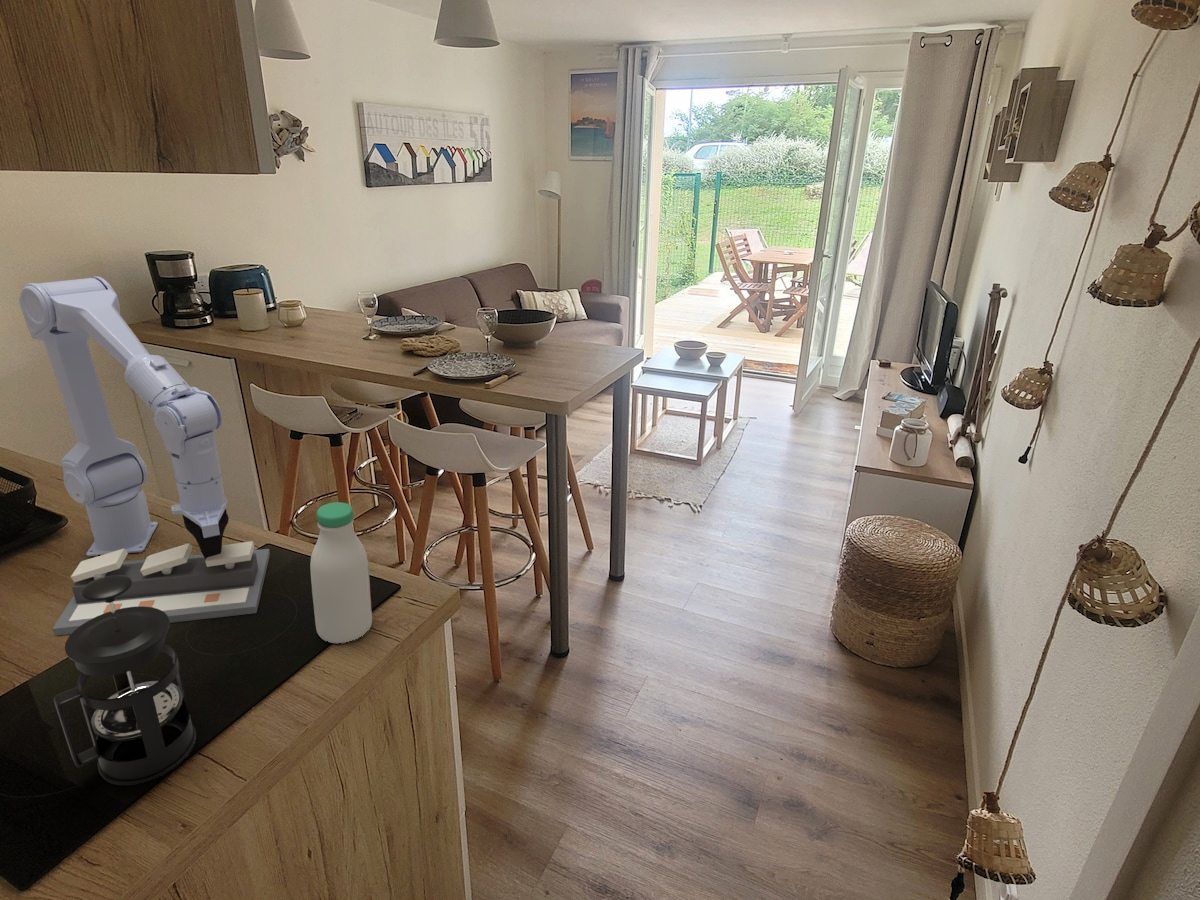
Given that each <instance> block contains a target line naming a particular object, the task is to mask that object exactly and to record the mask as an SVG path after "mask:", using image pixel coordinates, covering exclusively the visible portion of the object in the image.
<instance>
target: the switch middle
mask: <svg viewBox="0 0 1200 900" xmlns="http://www.w3.org/2000/svg"><path fill="white" fill-rule="evenodd" d="M192 551H193V546H192V544H191V543H190V542H189V543H184V544H183V545H179V546H175V547H172V548H169V549H166V550H162V551H160V552H159V551H158V552H155V553H153V554H150V555H149V554H148V556H147V557H146V558H145V559H146V560H145V562H144V564H143V566H142V568H141V570H140V571H141V573H142V574H143V576H145V575H148V574H152V573H155V572H158V571H161V570H162V573H163V574H165V575H168V574H170V573H171V571H172V569H173V567H174V566H177V565H180V564H184V563H187V560H188V558H189V556H191V552H192Z"/></svg>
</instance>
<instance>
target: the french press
mask: <svg viewBox="0 0 1200 900" xmlns="http://www.w3.org/2000/svg"><path fill="white" fill-rule="evenodd" d="M131 585H132V580H131V579H130V578H129V577H127V576H124V575H111V576H105V577H102V578H99V579H96V580H94V581H92V582H90V583H88V584H87V585H86V586H85V587H84V588H83V589H82V591H81V595H82V597H83V598H85V599H87V600H93V601H98V600H105V602H106V603H109V606H110V610H111V611H110V612H107V613H104V614H102V615H99V616H97V617H95V618H93V619H91V620H89V621H87V622H86V623H84V624H82V625H81V626H79V627H78V628H77V629H76V630H75V631H74V632H73V633H72V634H69V636H68V637H67V639H66V641H65V644H64V650H65V655H66V656H67V658H68V659H69V660H71V661H73V662H74V664H75V668H76V669H77V670H78V671H79V672H80V673H79V674H78V676H77V678H76V680H75V681H76V683H75V686H74V687H73V688H70V689H67V690H65V691H63V692H60V693H58V694H56V695H54V696H53V703H54V706H55V709H56V712H57V715H58V719H59V721H60V724H61V728H62V730H63V731H62V732H63V734H64V737H65V740H66V743H67V746H68V749H69V752H70V755H71V758H72V760H73V763H74V765H75V767H76V768H81V767H83V766H86V765H88V764H91V763H92V762H94V761H96V760H97V769H98V773H99V775H100V776H101V778H102V780H104V781H106V782H108V783H110V784H112V785H115V786H122V785H123V787H126V786H135V785H136V784H137V785H139V784H138V783H142V784H145V783H144V782H146V783H147V781H149V782H151V780H152V779H153V780H152V781H155V780H156V779H155V778H157V779H159V778H160V777H159V776H161V777H163V776H165V775H167V774H169V773H170V772H171V770H172V771H173V770H174V769H176V768H177V767H178V766H180V765H181V764H182V763H183V762H184V761H185V760H186V759H187V758H188V757H189V755H190V754H191V753H192V751H193V749H194V747H195V745H196V741H197V731H196V728H195V726H194V725H193V723H192V718H191V714H190V709H189V705H188V701H187V699H188V698H187V695H186V691H185V686H184V681H183V676H182V672H181V668H180V664H179V659H178V654H177V652H176V650H175V649H174V648H173V646H171V645H169V644H168V643H165V642H166V641H165V640H166V635H167V634H168V632H169V629H170V626H171V625H170V624H171V623H170V621H169V618H168V616H167V614H165V613H164V612H163V611H161V610H159V609H156V608H153V607H145V606H140V607H127V608H122V609H117V610H115V607H114V603H113V601H115V600H116V598H115V597H116V596H118V595H120V594H122V593H124V592H126V591H127V590H128V589H129V588H130V587H131ZM160 653H162V654H165V655H168V656H170V657H171V659H172V660H171V661H172V667H170V670H169V671H168V672H167V673H166V674H165V675H164V676H163V677H162V678H161V679H159V680H151V681H145V682H141V683H135V678H134V673H133V670H136V669H138V668H141V667H143V666H144V665H146V664H147V663H151V661H152V660H154V659H155V658H156V657H158V656H159V654H160ZM109 676H113V677H112V678H113V680H114V684H115V688H116V691H117V692H115V693H114V694H112V695H110V696H109V697H107V698H104V699H103V698H95V697H92V696H91V697H90V696H88V695H86V693H85V694H84V693H83V692H82V689H83V687H84V685H85V683H86V681H87V680H88V679H89V678H90V677H109ZM175 679H176V681H177V685H176V684H174V683H172V682H173V681H174V680H175ZM77 700H80V705H81V707H82V710H83V715H84V718H85V721H86V724H87V727H88V731H89V733H90V737H91V741H92V743H93V747H91V748H88V749H86V750H84V751H82V752H80V753H77V751H76V747H75V744H74V742H73V739H72V735H71V732H70V728H69V725H68V722H67V719H66V716H65V713H64V710H63V707H64V706H66V705H68V704H71V703H72V702H75V701H77ZM87 707H88V708H90V709H93V710H95V711H94V713H93V715H92V717H90V715H89V712H88V708H87ZM165 726H170V727H175V728H177V729H178V730H179V731H180V733H179V735H178V736H177V737H176V738H175V739H173V741H171V742H170V743H168V745H167V744H166V745H165V739H164V736H163V732H162V728H163V727H165ZM141 738H142V742H143V746H144V750H145V756H143V757H139V758H134V759H130V760H115V759H113V757H114V754H115V752H116V750H117V749H118V748H119V746H120V745H121V744H122V743H123V742H127V741H128V742H129V741H134V740H137V739H141ZM195 740H196V741H195ZM194 744H195V745H194ZM193 746H194V747H193ZM192 748H193V749H192ZM191 750H192V751H191ZM190 752H191V753H190ZM189 753H190V754H189ZM186 757H187V758H186ZM185 758H186V759H185ZM184 759H185V760H184ZM183 760H184V761H183ZM182 761H183V762H182ZM181 762H182V763H181ZM179 764H180V765H179ZM175 767H176V768H175ZM169 771H170V772H169ZM166 773H167V774H166ZM164 774H165V775H164ZM158 777H159V778H158ZM125 785H126V786H125Z"/></svg>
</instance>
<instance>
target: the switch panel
mask: <svg viewBox="0 0 1200 900" xmlns="http://www.w3.org/2000/svg"><path fill="white" fill-rule="evenodd" d="M270 557H271V553H270V548H264V549H254V550H253V553H252V557H251V560H249V561H242V562H236V563H235V565H234V567H233V568H232V569H227V568H226V567H225V564H223V565H216V566H210V567H207V566H206V562H205V561H206V559H205V558H204V556H203V554H202V553H201V554H194V555H193V554H192V555H191V554H190V556H189V558H188V560H187V563H184V564H180V565H177V566H174V567H173V569H172V571H171V573H170V574H168V575H165V574H163V573H162V570H161V571H158V572H155V573H152V574H148V575H145V576H143V574H142V573H141V571H140V570H141V568H142V566H143V564H144V562H145V560H146V558H145V559H136V560H135V559H134V560H133V559H132V560H124V561H123V563H122V565H121V567H120V568H119V569H116V570H113V571H110V572H107V573H106V575H105V576H111V575H124V576H127V577H129V578H130V579H131V580H132V585H131V587H130V588H129V589H128V590H127V591H126V592H124V593H122V594H120V595H118V596H116V597H115V598H116V600H115V601H113V603H114V607H115V610H117V609H122V608H127V607H140V606H145V607H153V608H156V609H159V610H161V611H163V612H164V613H165V614H167V616H168V618H169V621H170V624H171V623H179V622H180V623H181V622H189V621H197V620H200V621H201V620H206V619H207V620H208V619H215V618H225V617H232V616H234V617H235V616H240V615H243V616H244V615H251V614H257V612H258V608H259V604H260V600H261V595H262V592H263V591H262V590H263V586H264V581H265V577H266V574H267V569H268V566H269V565H268V564H269V562H270V561H269V560H270ZM94 580H95V579H94V577H90V578H87V579H84V580H81V581H77V582H73V583H74V584H73V585H72V586H71V590H72V592H73V593H72V594H73V595H72V598H70V601H69V602H68V603H67V605H66V607H65V608H64V610H63V612H62V613H61V615H60V616H59V618H58V619H57V621H56V622H55V624H54V626H53V627H52V631H53V632H52V633H53V635H54V637H56V636H65V635H71V634H72V633H73V632H74V631H75V630H76V629H77V628H78V627H79V626H81V625H82V624H84V623H86V622H87V621H89V620H91V619H93V618H95V617H97V616H99V615H102V614H104V613H107V612H110V611H111V610H110V606H109V603H106V602H105V600H98V601H93V600H87V599H85V598H83V597H82V595H81V591H82V589H83V588H84V587H85V586H86V585H87V584H88V583H90V582H92V581H94Z"/></svg>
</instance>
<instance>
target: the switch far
mask: <svg viewBox="0 0 1200 900" xmlns="http://www.w3.org/2000/svg"><path fill="white" fill-rule="evenodd" d="M253 550H255V543H254V540H249V541H243V542H237V543H231V544H222V550H221V554H218V555H214V556H211V557H207V558H206V561H205V562H206V566H207V567H210V566H216V565H223V564H225V567H226V568H227V569H232V568H233V567H234V565H235V563H236V562H242V561H249V560H251V557H252V553H253Z"/></svg>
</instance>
